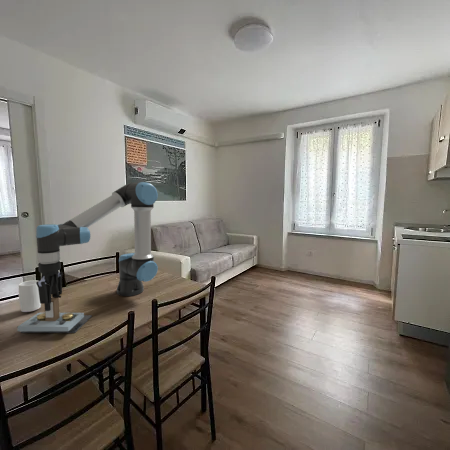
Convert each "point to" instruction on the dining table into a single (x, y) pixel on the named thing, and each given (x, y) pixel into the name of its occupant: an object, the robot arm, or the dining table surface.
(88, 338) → the dining table surface
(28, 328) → the panel
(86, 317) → the plate
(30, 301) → the cup
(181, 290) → the dining table surface
